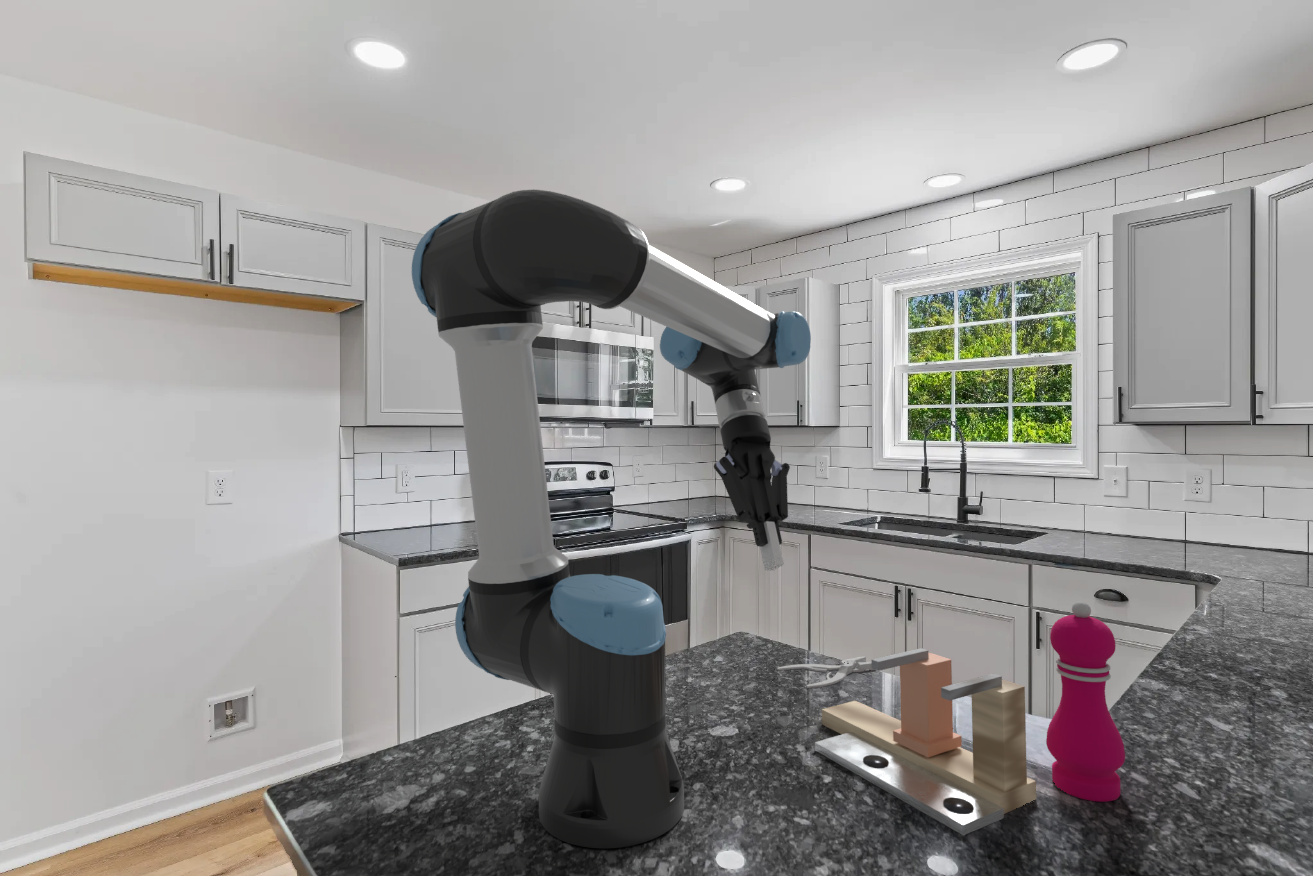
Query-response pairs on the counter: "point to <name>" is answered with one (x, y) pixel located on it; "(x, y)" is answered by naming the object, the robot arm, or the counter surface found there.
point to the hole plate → (911, 783)
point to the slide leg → (923, 701)
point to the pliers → (842, 669)
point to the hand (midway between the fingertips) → (774, 567)
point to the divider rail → (983, 772)
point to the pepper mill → (1084, 710)
